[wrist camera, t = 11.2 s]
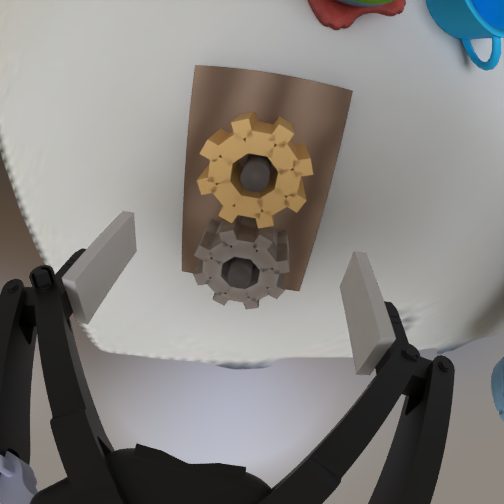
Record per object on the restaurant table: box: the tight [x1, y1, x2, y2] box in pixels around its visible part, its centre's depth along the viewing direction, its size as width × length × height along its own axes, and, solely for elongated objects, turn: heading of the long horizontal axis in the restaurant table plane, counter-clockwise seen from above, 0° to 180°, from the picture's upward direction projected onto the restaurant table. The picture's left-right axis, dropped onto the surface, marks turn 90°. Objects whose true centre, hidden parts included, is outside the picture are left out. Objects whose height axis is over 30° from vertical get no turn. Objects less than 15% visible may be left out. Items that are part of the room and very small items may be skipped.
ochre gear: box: [197, 111, 313, 228], centre depth 28 cm, size 10×10×6 cm
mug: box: [426, 0, 504, 70], centre depth 16 cm, size 12×8×8 cm
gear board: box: [182, 65, 353, 309], centre depth 30 cm, size 16×26×9 cm, turn 172°
